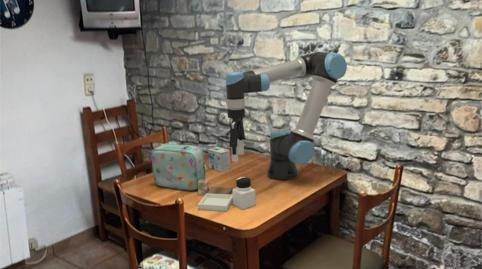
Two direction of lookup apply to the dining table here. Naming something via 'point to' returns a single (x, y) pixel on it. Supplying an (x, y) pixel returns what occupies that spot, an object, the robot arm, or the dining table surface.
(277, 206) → the dining table surface
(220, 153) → the light bulb box
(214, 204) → the tray
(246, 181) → the medicine bottle
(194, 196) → the dining table surface
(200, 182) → the clear glass cylinder
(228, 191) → the board
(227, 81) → the robot arm
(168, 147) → the lunch box
